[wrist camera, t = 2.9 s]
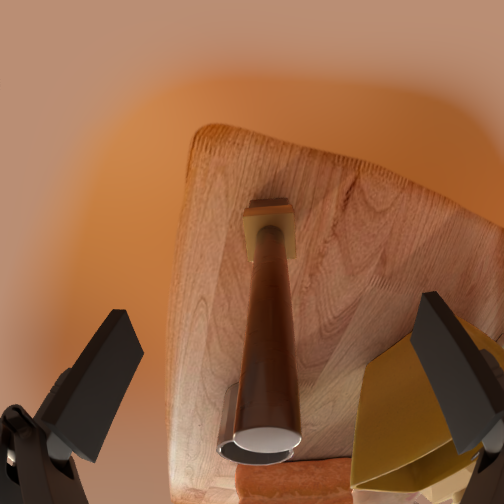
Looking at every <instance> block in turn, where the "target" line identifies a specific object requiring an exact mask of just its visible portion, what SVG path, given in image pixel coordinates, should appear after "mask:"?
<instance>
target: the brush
mask: <svg viewBox="0 0 504 504" xmlns="http://www.w3.org/2000/svg"><path fill="white" fill-rule="evenodd" d="M243 225H244V233H245V242H246V250H247V258H248V262H253V270H252V278H251V287H250V295H249V304H248V312H247V321H246V329H245V338H244V346H243V355H242V363H241V371H240V380H239V388H238V396H237V405H236V413H235V421H234V430H233V440H234V442H235V444H237V445H238V446H239V447H241V448H243V449H246V450H249V451H253V452H259V453H277V452H283V451H286V450H289V449H292V448H294V447H296V446H297V445H298V444H299V443H300V441H301V439H302V432H301V414H300V399H299V384H298V371H297V358H296V346H295V335H294V324H293V313H292V303H291V293H290V283H289V274H288V265H287V259H296V239H295V219H294V211H293V207H292V205H289V203H288V199H287V198H276V199H263V200H251V201H250V204H249V208H245V210H244V213H243Z"/></svg>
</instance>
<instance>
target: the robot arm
mask: <svg viewBox="0 0 504 504" xmlns="http://www.w3.org/2000/svg"><path fill="white" fill-rule="evenodd" d="M410 342H411V344H412V346H413V348H414V350H415V352H416V354H417V356H418V358H419V360H420V362H421V365H422V367H423V369H424V371H425V373H426V375H427V377H428V380H429V382H430V384H431V386H432V389H433V391H434V393H435V396H436V398H437V400H438V403H439V405H440V408H441V410H442V413H443V415H444V418H445V420H446V423H447V425H448V428H449V431H450V433H451V436H452V439H453V442H454V444H455V447H456V450H457V453H458V455H460V454H463V453H465V452H467V451H469V450H472V449H474V448H475V447H476V446H477V445H478V444H479V443H480V442H481V441H482V442H483V445H484V446H483V447H482V448H481V449H480V450H479V451H478V452H476V453H475V454H474V455H473V457H472V459H471V460H472V461H473V460H474V459H475V458H476V457H477V456H478V455H479V456H478V459H477V460H476V465H475V467H474V470H473V473H472V475H471V478H470V480H469V483H468V485H467V488H466V490H465V492H464V494H463V497H462V499H461V501H460V503H459V504H504V371H503V369H502V368H501V367H500V365H499V363H498V361H497V360H496V358H495V357H494V356H493V355H492V354H491V353H490V352H489V351H487V350H486V349H482V350H479V349H478V348H477V346H476V345H475V343H474V342H473V340H472V339H471V337H470V336H469V334H468V333H467V331H466V330H465V329H464V327H463V326H462V324H461V323H460V322H459V320H458V319H457V318H456V316H455V315H454V313H453V312H452V311H451V309H450V308H449V307H448V305H447V304H446V303H445V302H444V300H443V299H442V298H441V296H440V295H439V294H438V293H437V291H433V292H426V293H422V297H421V301H420V305H419V309H418V313H417V317H416V320H415V324H414V328H413V331H412V334H411V338H410ZM143 355H144V352H143V350H142V348H141V345H140V343H139V340H138V338H137V336H136V334H135V331H134V329H133V327H132V324H131V321H130V319H129V316H128V314H127V311H126V310H119V309H113V310H112V311H111V312H110V314H109V315H108V317H107V318H106V319H105V320H104V322H103V323H102V325H101V326H100V327H99V329H98V330H97V332H96V333H95V334H94V336H93V337H92V339H91V340H90V342H89V343H88V345H87V346H86V347H85V349H84V350H83V352H82V353H81V355H80V356H79V358H78V359H77V361H76V362H75V364H74V365H73V367H72V368H68V369H67V370H65V371H64V372H63V373H62V374H61V375H60V376H59V378H58V379H57V381H56V382H55V386H53V387H52V388H51V390H50V393H48V395H47V396H46V398H45V400H44V401H43V403H42V405H41V406H40V408H39V410H38V411H37V413H36V415H35V416H34V418H33V419H32V418H31V416H30V415H29V414H28V413H27V412H26V411H25V410H24V409H23V407H22V406H20V405H18V404H15V405H11V406H9V407H8V408H7V409H6V410H5V411H4V412H3V414H2V416H1V418H0V504H89V503H88V500H87V498H86V495H85V493H84V490H83V487H82V484H81V481H80V479H79V475H78V472H77V469H76V465H75V462H74V459H73V457H72V456H71V453H72V451H73V452H74V453H76V454H77V455H78V456H79V457H80V458H82V459H85V460H87V461H90V462H93V463H95V462H96V459H97V457H98V454H99V452H100V450H101V447H102V445H103V442H104V440H105V438H106V435H107V433H108V431H109V428H110V426H111V424H112V421H113V419H114V417H115V415H116V412H117V410H118V408H119V406H120V403H121V401H122V399H123V397H124V394H125V392H126V390H127V388H128V386H129V384H130V382H131V380H132V378H133V375H134V373H135V371H136V369H137V367H138V365H139V363H140V361H141V359H142V357H143ZM7 457H9V458H10V459H11V460H12V461H13V465H12V466H11V465H10V464H8V463H7Z"/></svg>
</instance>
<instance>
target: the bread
mask: <svg viewBox="0 0 504 504" xmlns="http://www.w3.org/2000/svg"><path fill="white" fill-rule="evenodd" d="M351 462H352V458H335V459H326V460H321V461H298V462H281V463H277V464H272V465H262V466H253V465H243V464H238V466H237V468H236V473H235V486H236V490H237V494H238V496H239V499H240V501H239V504H353V496H352V491H353V489H351V488H350V476H351Z"/></svg>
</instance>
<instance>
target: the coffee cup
mask: <svg viewBox="0 0 504 504" xmlns="http://www.w3.org/2000/svg"><path fill="white" fill-rule="evenodd" d="M496 343H497V344H499V345H500V346H501V347H502V348H503V349H504V333H503V334H502V335H501V336H500V338H499V339H498V340H497V342H496Z"/></svg>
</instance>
